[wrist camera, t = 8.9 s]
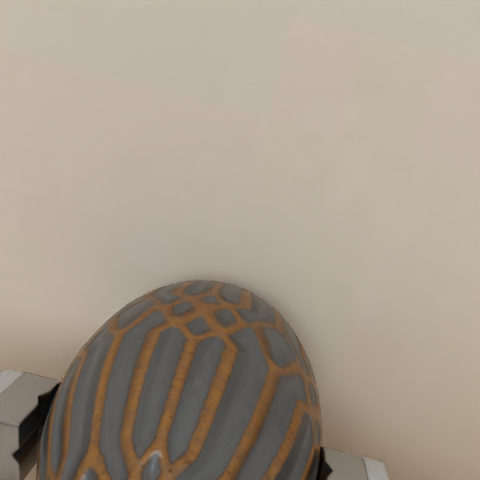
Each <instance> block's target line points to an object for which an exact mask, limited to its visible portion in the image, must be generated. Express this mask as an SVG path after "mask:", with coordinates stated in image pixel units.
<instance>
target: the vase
mask: <svg viewBox="0 0 480 480" xmlns="http://www.w3.org/2000/svg"><path fill="white" fill-rule="evenodd" d="M321 437H322V428H321V411H320V404H319V397H318V391H317V386H316V382H315V378H314V374H313V370H312V367H311V364H310V362H309V359H308V357H307V355H306V353H305V351H304V348H303V346H302V344H301V342H300V341H299V339H298V337H297V336H296V334H295V333H294V331H293V330H292V329H291V327H290V326H289V324H288V323H287V322H286V321H285V319H284V318H283V317H282V316H281V315H280V314H279V313H278V312H277V311H276V310H275V309H274V308H273V307H271V306H270V305H269V304H268V303H266V302H265V301H264V300H262V299H261V298H259V297H258V296H256V295H254V294H253V293H251V292H249V291H247V290H245V289H242V288H240V287H237V286H234V285H231V284H227V283H222V282H216V281H186V282H179V283H175V284H171V285H168V286H164V287H161V288H158V289H156V290H153V291H151V292H149V293H147V294H145V295H143V296H141V297H139V298H137V299H135V300H134V301H132V302H130V303H129V304H127V305H126V306H125V307H123V308H122V309H121V310H120V311H118V312H117V313H116V314H115V315H113V316H112V317H111V318H110V319H109V320H108V321H107V322H106V323H105V324H104V325H103V326H101V327H100V328H99V329H98V330H97V331H96V332H95V334H94V335H93V336H92V337H91V338H90V339H89V340H88V342H87V343H86V344H85V345H84V346H83V347H82V349H81V350H80V352H79V353H78V354H77V356H76V357H75V359H74V360H73V362H72V364H71V365H70V367H69V369H68V370H67V372H66V374H65V376H64V378H63V380H62V382H61V384H60V386H59V388H58V390H57V392H56V395H55V397H54V399H53V402H52V404H51V407H50V410H49V412H48V415H47V418H46V421H45V424H44V428H43V432H42V436H41V440H40V445H39V451H38V460H37V475H36V480H316V477H317V472H318V467H319V461H320V452H321Z"/></svg>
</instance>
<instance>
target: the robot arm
mask: <svg viewBox="0 0 480 480" xmlns="http://www.w3.org/2000/svg"><path fill="white" fill-rule="evenodd" d="M60 384H61V382H60V381H57V380H53V379H49V378H46V377H42V376H39V375H35V374H32V373H26V372H23V371H19V370H16V369H12V368H9V369H6V370H4V371H2V372H1V373H0V480H24V478H25V477H26V476H27V474H28V473H29V472H30V471H31V469H32V468H33V467H34V465H35V464H36V463H37V460H38V451H39V445H40V440H41V436H42V432H43V428H44V424H45V421H46V418H47V415H48V412H49V410H50V407H51V404H52V402H53V399H54V397H55V395H56V392H57V390H58V388H59V386H60ZM316 480H389V478H388V475H387V471H386V468H385V464H384V463H383V462H382V460H377V459H373V458H369V457H364V456H359V455H355V454H351V453H347V452H343V451H339V450H335V449H330V448H326V447H322V446H321V452H320V461H319V467H318V472H317V477H316Z"/></svg>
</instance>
